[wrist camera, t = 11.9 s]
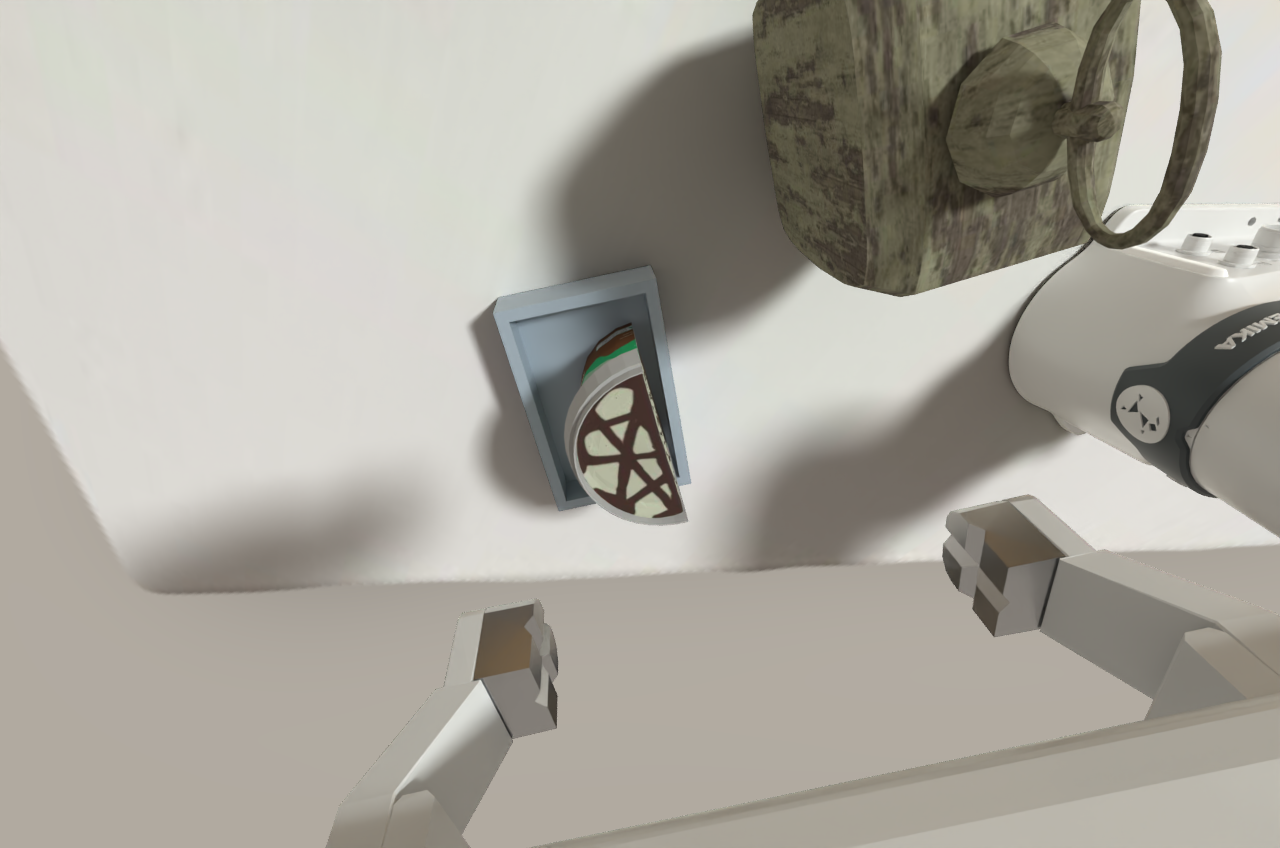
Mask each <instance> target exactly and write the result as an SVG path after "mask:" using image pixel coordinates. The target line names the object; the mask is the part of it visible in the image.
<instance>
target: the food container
mask: <svg viewBox="0 0 1280 848" xmlns="http://www.w3.org/2000/svg"><path fill="white" fill-rule="evenodd" d="M564 441H565V449H566V453H567V456H568V459H569V462H570V465H571V467H572V470H573V472H574V474H575V476H576V478H577V480H578V482H579V484H580V485H581V487H582V488H583V489H584V491H585V492H586V493H587V494H588V495H589V496H590V497H591V498H592V499H593V500H594V501H595V502H596V503H597V504H598V505H599V506H600V507H601V508H603V509H605V510H606V511H608V512H609V513H611V514H613V515H615V516H617V517H619V518H621V519H624V520H627V521H630V522H634V523H638V524H645V525H659V526H663V525H674V524H680V523H685V522H688V519H687V515H686V511H685V507H684V504H683V500H682V496H681V493H680V489H679V485H678V482H677V478H676V474H675V470H674V467H673V463H672V459H671V456H670V452H669V448H668V444H667V441H666V437H665V433H664V430H663V426H662V423H661V420H660V416H659V413H658V410H657V406H656V403H655V400H654V396H653V393H652V389H651V386H650V383H649V379H648V376H647V373H646V369H645V366H644V363H643V359H642V356H641V353H640V349H639V346H638V343H637V339H636V336H635V333H634V329H633V326H632V323H628V324H626V325H623V326H620V327H618V328H616V329H614V330H613V331H612V332H610V333H609V334H608V335H606V336H605V337H604V338H602V339H601V340H600V341H599V342H598V343H597V344H596V346H595V347H594V349H593V350H592V351H591V353H590V354H589V355H588V357H587V360H586V363H585V366H584V370H583V373H582V378H581V386H580V389H579V391H578V392H577V393H576V395H575V396H574V399H573V401H572V403H571V405H570V407H569V410H568V413H567V417H566V421H565V430H564Z"/></svg>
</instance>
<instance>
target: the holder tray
mask: <svg viewBox="0 0 1280 848" xmlns="http://www.w3.org/2000/svg"><path fill="white" fill-rule="evenodd" d="M493 315H494V318H495V321H496V324H497V327H498V330H499V333H500V336H501V339H502V342H503V345H504V348H505V351H506V354H507V357H508V360H509V363H510V366H511V369H512V372H513V375H514V378H515V381H516V384H517V387H518V390H519V393H520V396H521V399H522V402H523V405H524V408H525V411H526V414H527V417H528V420H529V423H530V426H531V429H532V432H533V435H534V438H535V441H536V444H537V447H538V450H539V453H540V456H541V459H542V462H543V465H544V468H545V471H546V474H547V477H548V480H549V483H550V486H551V489H552V492H553V495H554V498H555V501H556V504H557V507H558V510H559V511H563V510H568V509H572V508H577V507H582V506H587V505H591V504H596V502H595V501H594V500H593V499H592V498H591V497H590V496H589V495H588V494H587V493H586V492H585V491H584V489H583V488H582V487H581V485H580V484H579V482H578V480H577V478H576V476H575V474H574V472H573V470H572V467H571V465H570V462H569V459H568V456H567V453H566V449H565V441H564V430H565V421H566V417H567V413H568V410H569V407H570V405H571V403H572V401H573V399H574V396H575V395H576V393H577V392H578V391H579V389H580V386H581V378H582V373H583V370H584V366H585V363H586V360H587V357H588V355H589V354H590V353H591V351H592V350H593V349H594V347H595V346H596V344H597V343H598V342H599V341H600V340H601V339H602V338H604V337H605V336H606V335H608V334H609V333H610V332H612V331H613V330H614V329H616V328H618V327H620V326H623V325H626V324H628V323H632V326H633V329H634V333H635V336H636V339H637V343H638V346H639V349H640V353H641V356H642V359H643V363H644V366H645V369H646V373H647V376H648V379H649V383H650V386H651V389H652V393H653V396H654V400H655V403H656V406H657V410H658V413H659V416H660V420H661V423H662V426H663V430H664V433H665V437H666V441H667V444H668V448H669V452H670V456H671V459H672V463H673V467H674V470H675V474H676V478H677V482H678V485H679V486H682V485H686V484H691V479H690V473H689V467H688V462H687V456H686V450H685V444H684V438H683V432H682V427H681V421H680V415H679V409H678V403H677V397H676V392H675V386H674V380H673V374H672V368H671V362H670V357H669V351H668V345H667V339H666V333H665V328H664V322H663V316H662V310H661V304H660V298H659V293H658V287H657V281H656V277H655V275H654V272H653V270H652V268H651V265H649V266H644V267H639V268H635V269H630V270H625V271H621V272H616V273H611V274H606V275H602V276H597V277H592V278H588V279H583V280H578V281H574V282H569V283H564V284H560V285H555V286H550V287H545V288H541V289H536V290H531V291H527V292H522V293H517V294H513V295H508V296H503V297H499V298H498V300H497V303H496V305H495V308H494V311H493Z"/></svg>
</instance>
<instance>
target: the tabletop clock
mask: <svg viewBox="0 0 1280 848" xmlns="http://www.w3.org/2000/svg"><path fill="white" fill-rule="evenodd" d="M1166 1H1167V2H1168V4H1169V7H1170V9H1171V11H1172V13H1173V16H1174V18H1175V20H1176V22H1177V24H1178V27H1179V29H1180V36H1181V44H1182V53H1183V61H1184V69H1183V81H1182V92H1181V103H1180V111H1179V116H1178V122H1177V127H1176V132H1175V137H1174V143H1173V148H1172V153H1171V157H1170V160H1169V164H1168V167H1167V170H1166V174H1165V177H1164V180H1163V184H1162V187H1161V190H1160V193H1159V194H1158V196H1157V198H1156V200H1155V202H1154V203H1153V205H1152V207H1151V209H1150V211H1149V213H1148V214H1147V215H1146V216H1145V217H1144V218H1143V219H1142V220H1141V221H1140V222H1139V223H1138V224H1137V225H1136V226H1135V227H1134V228H1133V229H1131V230H1129V231H1127V232H1125V233H1114V232H1112V231H1111V230H1110V229H1109V228H1108V227H1107V226H1105V225H1104V224H1103V222H1102V218H1101V216H1102V213H1103V210H1104V207H1105V204H1106V202H1107V199H1108V196H1109V192H1110V188H1111V184H1112V179H1113V175H1114V171H1115V166H1116V161H1117V156H1118V151H1119V146H1120V141H1121V136H1122V131H1123V126H1124V121H1125V116H1126V112H1127V107H1128V102H1129V97H1130V92H1131V87H1132V82H1133V77H1134V67H1135V56H1136V46H1137V35H1138V25H1139V14H1140V4H1141V0H758V1H757V3H756V6H755V9H754V12H753V37H754V49H755V58H756V66H757V73H758V81H759V88H760V95H761V103H762V110H763V118H764V125H765V132H766V138H767V144H768V151H769V157H770V163H771V169H772V175H773V181H774V188H775V193H776V199H777V204H778V209H779V213H780V217H781V221H782V225H783V228H784V230H785V232H786V234H787V235H788V237H789V239H790V240H791V242H792V243H793V244H794V245H795V246H796V248H797V249H798V250H799V251H800V252H801V253H803V254H804V255H805V256H806V257H807V258H808V259H809V260H811V261H812V262H813V263H814V264H815V265H816V266H817V267H818V268H820V269H821V270H823V271H825V272H826V273H828V274H829V275H831V276H833V277H834V278H836V279H837V280H839V281H841V282H842V283H844V284H847V285H850V286H853V287H858V288H862V289H867V290H871V291H876V292H880V293H884V294H889V295H893V296H898V297H903V296H909V295H915V294H918V293H922V292H925V291H928V290H932V289H935V288H938V287H942V286H945V285H948V284H952V283H955V282H958V281H961V280H965V279H968V278H971V277H975V276H978V275H981V274H985V273H988V272H991V271H995V270H998V269H1001V268H1005V267H1008V266H1011V265H1015V264H1018V263H1021V262H1025V261H1028V260H1031V259H1034V258H1038V257H1041V256H1044V255H1048V254H1051V253H1054V252H1058V251H1061V250H1064V249H1068V248H1071V247H1074V246H1078V245H1081V244H1084V243H1088V241H1089V239H1090V237H1092V238H1093V239H1094V240H1095V241H1096V242H1097V243H1099V244H1101V245H1103V246H1104V247H1107V248H1109V249H1120V250H1122V249H1126V248H1130V247H1133V246H1137V245H1141V244H1144V243H1147V242H1148V241H1149V240H1151V239H1152V238H1153V237H1154V236H1156V235H1157V234H1158V233H1159V232H1161V231H1162V230H1163V229H1164V228H1166V227H1167V226H1168V225H1169V224H1170V222H1171V221H1172V219H1173V218H1174V217H1175V215H1176V214H1177V212H1178V211H1179V209H1180V208H1181V207H1182V205H1183V204H1184V202H1185V201H1186V199H1187V198H1188V197H1189V195H1190V194H1191V192H1192V190H1193V187H1194V184H1195V182H1196V179H1197V176H1198V174H1199V171H1200V168H1201V166H1202V163H1203V160H1204V158H1205V155H1206V153H1207V149H1208V145H1209V140H1210V136H1211V131H1212V127H1213V122H1214V117H1215V113H1216V108H1217V104H1218V97H1219V83H1220V69H1221V55H1222V51H1221V46H1220V41H1219V35H1218V30H1217V25H1216V20H1215V15H1214V11H1213V9H1212V8H1211V6H1210V4H1209V2H1208V1H1207V0H1166Z"/></svg>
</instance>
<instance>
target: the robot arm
mask: <svg viewBox="0 0 1280 848" xmlns="http://www.w3.org/2000/svg"><path fill="white" fill-rule="evenodd" d="M1152 205H1153V204H1141V205H1128V206H1125V207H1123V208H1122V209H1120V210H1119V211H1117V212H1116V213H1115V214H1114V215H1113V216H1112V217H1111V218H1110V219H1109V221H1108V222H1107V223H1106V224H1105V226H1107V227H1108V228H1109V229H1110V230H1111V231H1112V232H1114V233H1125V232H1127V231H1129V230H1131V229H1133V228H1134V227H1135V226H1136V225H1137V224H1138V223H1139V222H1140V221H1141V220H1142V219H1143V218H1144V217H1145V216H1146V215H1147V214H1148V213H1149V211H1150V209H1151V207H1152ZM1009 371H1010V376H1011V379H1012V382H1013V384H1014V386H1015V388H1016V390H1017V391H1018V392H1019V394H1020V395H1021V396H1022V397H1023V398H1024V399H1026V400H1027V401H1028V402H1030V403H1031V404H1033V405H1035V406H1038V407H1040V408H1043V409H1045V410H1047V411H1049V412H1051V413H1052V414H1053V415H1054V417H1055V419H1056V420H1057V422H1058V423H1059V424H1060V426H1061V427H1062V428H1064V429H1065V430H1067V431H1069V432H1071V433H1073V434H1075V435H1081V434H1085V433H1088V434H1090V435H1092V436H1093V437H1095V438H1097V439H1099V440H1101V441H1103V442H1104V443H1106V444H1108V445H1110V446H1112V447H1114V448H1116V449H1118V450H1119V451H1121V452H1123V453H1125V454H1127V455H1129V456H1131V457H1133V458H1135V459H1136V460H1138V461H1140V462H1142V463H1145V464H1148V465H1153V466H1155V467H1156V468H1158V469H1160V470H1161V471H1163V472H1164V473H1166V474H1167V477H1169V478H1170V479H1172V480H1174V481H1175V482H1177V483H1179V484H1180V485H1183V486H1185V487H1188V488H1190V489H1192V490H1193V491H1195V492H1197V493H1199V494H1201V495H1204V496H1208V497H1212V498H1219V499H1221V500H1222V501H1224V502H1225V503H1227V504H1228V505H1230V506H1231V507H1233V508H1234V509H1236V510H1238V511H1239V512H1241V513H1242V514H1244V515H1245V516H1247V517H1248V518H1250V519H1251V520H1253V521H1254V522H1256V523H1257V524H1259V525H1261V526H1262V527H1264V528H1265V529H1267V530H1268V531H1270V532H1271V533H1273V534H1274V535H1276V536H1278V537H1279V538H1280V203H1279V204H1183V205H1182V207H1181V208H1180V209H1179V211H1178V212H1177V214H1176V215H1175V217H1174V218H1173V219H1172V221H1171V222H1170V224H1169V225H1168V226H1167V227H1166V228H1164V229H1163V230H1162V231H1161V232H1159V233H1158V234H1157V235H1156V236H1154V237H1153V238H1152V239H1151V240H1149V241H1148V242H1147V243H1144V244H1141V245H1137V246H1133V247H1130V248H1126V249H1122V250H1120V249H1109V248H1107V247H1104V246H1103V245H1101V244H1099V243H1097V242H1096V241H1095V240H1093V241H1092V243H1091V244H1090V245H1089V246H1088V247H1087V248H1086V249H1085V250H1084V251H1083V252H1081V253H1080V254H1079V255H1078V256H1077V257H1075V258H1074V259H1073V260H1071V261H1070V262H1069V263H1067V264H1066V265H1065V266H1064V267H1062V268H1061V269H1060V270H1059V271H1058V272H1057V273H1055V274H1054V275H1053V276H1052V277H1051V278H1050V279H1049V280H1048V281H1047V282H1046V283H1045V284H1044V286H1043V287H1042V288H1041V289H1040V290H1039V291H1038V292H1037V294H1036V295H1035V296H1034V298H1033V299H1032V300H1031V302H1030V303H1029V305H1028V306H1027V308H1026V309H1025V311H1024V313H1023V315H1022V316H1021V318H1020V320H1019V322H1018V324H1017V327H1016V329H1015V332H1014V335H1013V338H1012V341H1011V346H1010V351H1009ZM946 528H947V529H948V531H949V532H950V533H951V536H950V537H949V538H948V539H947V540H946V541H945V543H944V544H943V555H942V557H943V561H944V565H945V569H946V572H947V574H948V576H949V578H950V579H951V581H952V583H953V584H954V585H955V587H956V588H957V589H958V591H960V592H962V593H964V594H966V595H968V596H970V597H972V598H973V608H972V609H973V611H974V612H975V613H976V614H977V616H978V617H979V618H980V619H981V621H982V622H983V623H984V625H985V626H986V627H987V629H988V630H989V631H990V633H991V634H992V635H993V636H994V637H998V636H1003V635H1009V634H1015V633H1021V632H1026V631H1031V630H1037V629H1040V632H1042V633H1044V634H1045V635H1047V636H1049V637H1050V638H1052V639H1053V640H1055V641H1057V642H1058V643H1060V644H1062V645H1064V646H1065V647H1067V648H1069V649H1070V650H1072V651H1074V652H1075V653H1077V654H1079V655H1080V656H1082V657H1083V658H1085V659H1087V660H1088V661H1090V662H1092V663H1094V664H1095V665H1097V666H1098V667H1100V668H1102V669H1103V670H1105V671H1107V672H1108V673H1110V674H1112V675H1113V676H1115V677H1117V678H1119V679H1120V680H1122V681H1124V682H1125V683H1127V684H1129V685H1130V686H1132V687H1133V688H1135V689H1137V690H1138V691H1140V692H1142V693H1143V694H1145V695H1147V696H1148V697H1150V698H1152V699H1153V702H1152V704H1151V707H1150V709H1149V711H1148V713H1147V715H1146V717H1145V719H1144V720H1143V721H1138V722H1133V723H1128V724H1124V725H1118V726H1113V727H1109V728H1104V729H1099V730H1094V731H1089V732H1085V733H1080V734H1075V735H1070V736H1065V737H1060V738H1056V739H1051V740H1046V741H1041V742H1036V743H1032V744H1027V745H1022V746H1018V747H1012V748H1008V749H1003V750H998V751H993V752H988V753H983V754H979V755H974V756H969V757H964V758H959V759H954V760H950V761H945V762H940V763H936V764H931V765H926V766H921V767H916V768H911V769H906V770H902V771H897V772H892V773H887V774H882V775H877V776H872V777H868V778H863V779H858V780H853V781H849V782H844V783H839V784H834V785H829V786H825V787H820V788H815V789H810V790H805V791H801V792H796V793H791V794H786V795H781V796H777V797H772V798H767V799H762V800H757V801H753V802H748V803H743V804H738V805H734V806H729V807H724V808H720V809H714V810H710V811H705V812H700V813H695V814H690V815H685V816H680V817H676V818H671V819H666V820H661V821H657V822H651V823H647V824H642V825H638V826H632V827H628V828H623V829H618V830H613V831H608V832H603V833H599V834H594V835H589V836H584V837H579V838H575V839H569V840H565V841H560V842H555V843H550V844H545V845H540V846H536V847H531V848H1280V616H1279V615H1277V614H1276V613H1275V612H1272V611H1270V610H1267V609H1264V608H1262V607H1259V606H1256V605H1254V604H1251V603H1248V602H1245V601H1243V600H1240V599H1237V598H1234V597H1232V596H1229V595H1227V594H1224V593H1221V592H1219V591H1216V590H1213V589H1210V588H1208V587H1205V586H1202V585H1200V584H1197V583H1194V582H1192V581H1189V580H1186V579H1183V578H1181V577H1178V576H1175V575H1173V574H1170V573H1167V572H1164V571H1162V570H1159V569H1156V568H1154V567H1151V566H1148V565H1146V564H1143V563H1140V562H1138V561H1135V560H1132V559H1129V558H1127V557H1124V556H1121V555H1119V554H1116V553H1113V552H1111V551H1108V550H1105V549H1104V550H1098V551H1096V550H1095V549H1094V548H1093V547H1092V546H1091V545H1089V544H1088V543H1087V542H1086V541H1085V540H1084V539H1083V538H1081V537H1080V536H1079V535H1078V534H1077V533H1076V532H1075V531H1074V530H1072V529H1071V528H1070V527H1069V526H1068V525H1067V524H1066V523H1065V522H1063V521H1062V520H1061V519H1060V518H1059V517H1058V516H1057V515H1055V514H1054V513H1053V512H1052V511H1051V510H1050V509H1049V508H1048V507H1046V506H1045V505H1044V504H1043V503H1042V502H1041V501H1040V500H1038V499H1037V498H1036V497H1034V496H1031V495H1029V494H1028V495H1023V496H1019V497H1014V498H1010V499H1005V500H1002V501H996V502H991V503H986V504H982V505H977V506H973V507H968V508H964V509H959V510H955V511H951V512H950V513H949V515H948V516H947V520H946ZM557 675H558V657H557V648H556V643H555V639H554V635H553V632H552V629H551V627H550V626H549V625H547V624H546V623H544V609H543V607H542V604H541V602H540V600H539V599H532V600H526V601H521V602H515V603H510V604H505V605H499V606H494V607H488V608H485V609H480V610H475V611H469V612H464V613H462V614H461V616H460V617H459V619H458V621H457V626H456V630H455V635H454V640H453V644H452V649H451V654H450V658H449V663H448V668H447V672H446V677H445V682H444V687H442V688H438V689H435V691H434V692H433V693H432V694H431V695H430V697H429V698H428V699H427V700H426V702H425V703H424V704H423V705H422V706H421V707H420V709H419V710H418V711H417V712H416V714H415V715H414V716H413V717H412V718H411V720H410V721H409V722H408V723H407V724H406V726H405V727H404V728H403V729H402V731H401V732H400V733H399V734H398V735H397V736H396V738H395V739H394V740H393V741H392V743H391V744H390V745H389V746H388V748H387V749H386V750H385V751H384V752H383V754H382V755H381V756H380V757H379V758H378V760H377V761H376V762H375V763H374V764H373V766H372V767H371V768H370V769H369V770H368V772H367V773H366V774H365V775H364V776H363V778H362V779H361V780H360V781H359V782H358V784H357V785H356V786H355V787H354V789H353V790H352V791H351V792H350V793H349V795H348V796H347V797H346V798H345V799H344V801H343V802H342V803H341V804H340V806H339V808H338V811H337V814H336V818H335V821H334V824H333V827H332V830H331V833H330V836H329V839H328V842H327V845H326V848H470V846H469V845H468V843H467V842H466V841H465V839H464V838H463V836H462V833H463V832H464V830H465V828H466V826H467V824H468V823H469V821H470V819H471V817H472V815H473V813H474V812H475V809H476V808H477V806H478V804H479V802H480V801H481V799H482V797H483V795H484V793H485V792H486V790H487V788H488V786H489V784H490V782H491V781H492V779H493V777H494V775H495V773H496V772H497V770H498V768H499V766H500V764H501V763H502V761H503V759H504V757H505V755H506V753H507V752H508V750H509V748H510V746H511V744H512V743H513V741H512V739H514V738H518V737H522V736H526V735H531V734H535V733H539V732H543V731H547V730H552V729H556V728H557V693H556V691H555V688H554V686H553V684H552V682H553V681H554V679H555V678H556V677H557Z"/></svg>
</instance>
